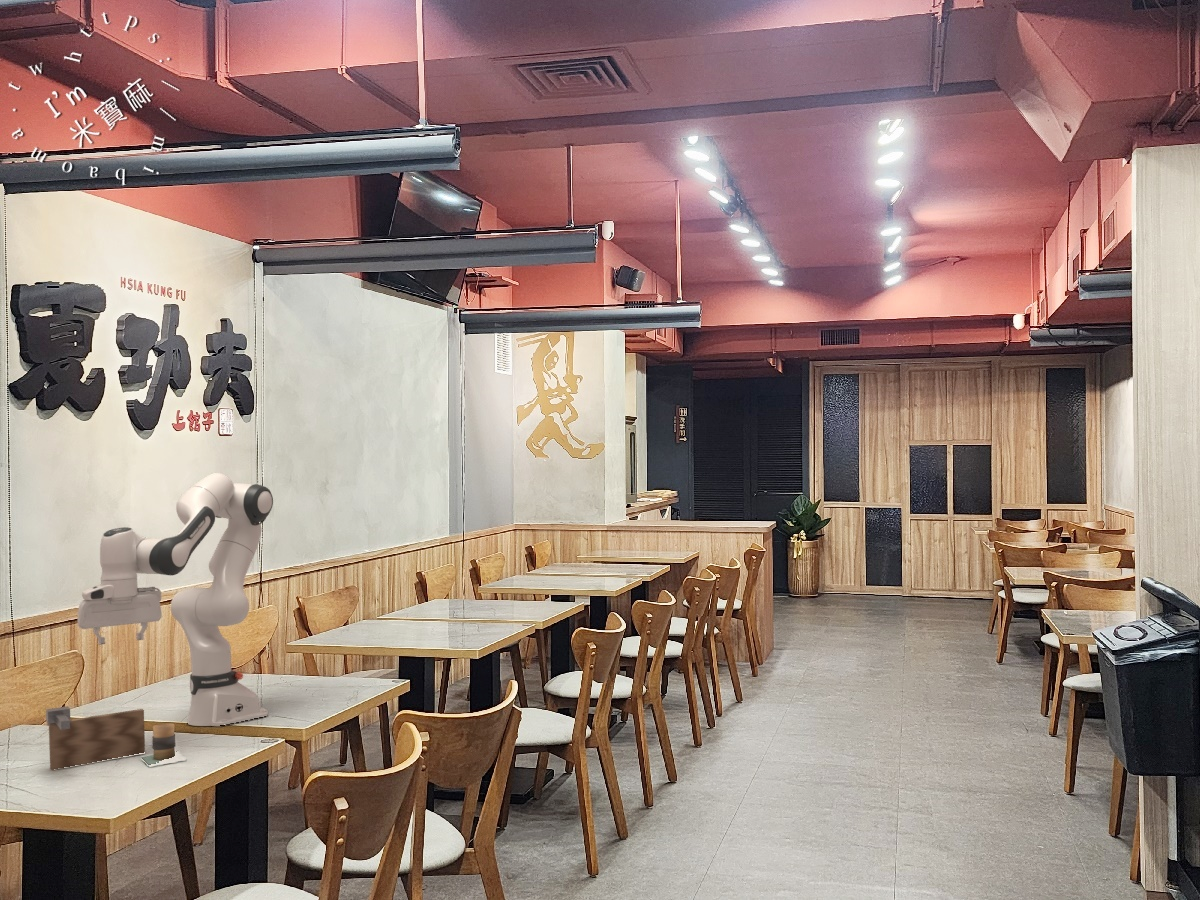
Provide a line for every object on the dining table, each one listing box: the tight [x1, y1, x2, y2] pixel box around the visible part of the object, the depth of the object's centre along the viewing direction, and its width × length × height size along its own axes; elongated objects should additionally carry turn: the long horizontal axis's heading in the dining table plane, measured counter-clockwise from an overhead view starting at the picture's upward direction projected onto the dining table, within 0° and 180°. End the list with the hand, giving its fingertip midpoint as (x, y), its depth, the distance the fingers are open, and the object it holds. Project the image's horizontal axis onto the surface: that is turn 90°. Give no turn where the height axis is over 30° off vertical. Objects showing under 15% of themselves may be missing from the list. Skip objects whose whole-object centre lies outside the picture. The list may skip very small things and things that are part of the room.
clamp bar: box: [45, 706, 71, 730], centre depth 262 cm, size 5×14×3 cm, turn 35°
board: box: [48, 708, 146, 771], centre depth 271 cm, size 22×2×12 cm, turn 125°
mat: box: [140, 750, 178, 765], centre depth 270 cm, size 9×9×1 cm
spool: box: [151, 722, 176, 760], centre depth 270 cm, size 5×5×8 cm
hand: (120, 642), depth 280 cm, fingers open, 8 cm apart
